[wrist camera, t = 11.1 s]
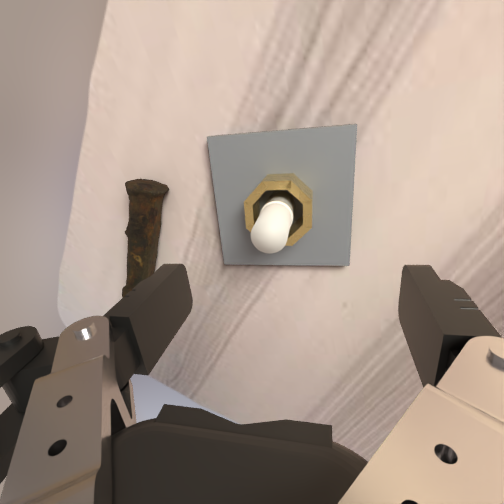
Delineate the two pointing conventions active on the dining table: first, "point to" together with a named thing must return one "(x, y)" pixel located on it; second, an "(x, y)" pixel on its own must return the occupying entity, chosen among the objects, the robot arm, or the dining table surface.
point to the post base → (281, 158)
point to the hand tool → (143, 229)
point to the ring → (295, 188)
